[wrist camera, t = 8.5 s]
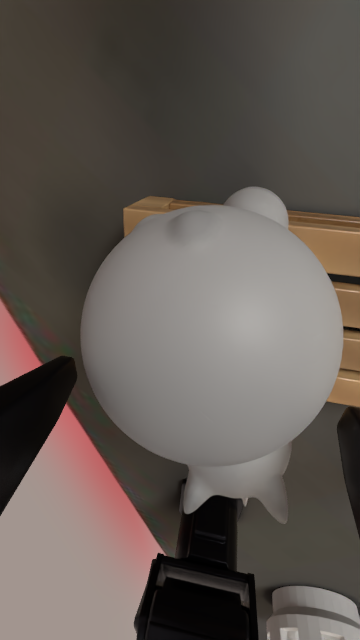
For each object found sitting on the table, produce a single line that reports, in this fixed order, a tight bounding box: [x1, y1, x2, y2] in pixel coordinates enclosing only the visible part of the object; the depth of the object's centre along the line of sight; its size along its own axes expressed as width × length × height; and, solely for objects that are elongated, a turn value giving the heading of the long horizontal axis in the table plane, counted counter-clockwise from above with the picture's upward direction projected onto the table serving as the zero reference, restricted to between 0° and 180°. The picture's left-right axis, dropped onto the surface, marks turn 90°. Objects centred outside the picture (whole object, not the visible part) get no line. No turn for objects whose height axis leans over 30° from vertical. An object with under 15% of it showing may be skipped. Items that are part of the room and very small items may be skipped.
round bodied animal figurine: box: [81, 187, 343, 524], centre depth 10 cm, size 7×12×8 cm, turn 13°
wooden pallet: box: [123, 196, 360, 407], centre depth 15 cm, size 9×18×4 cm, turn 87°
